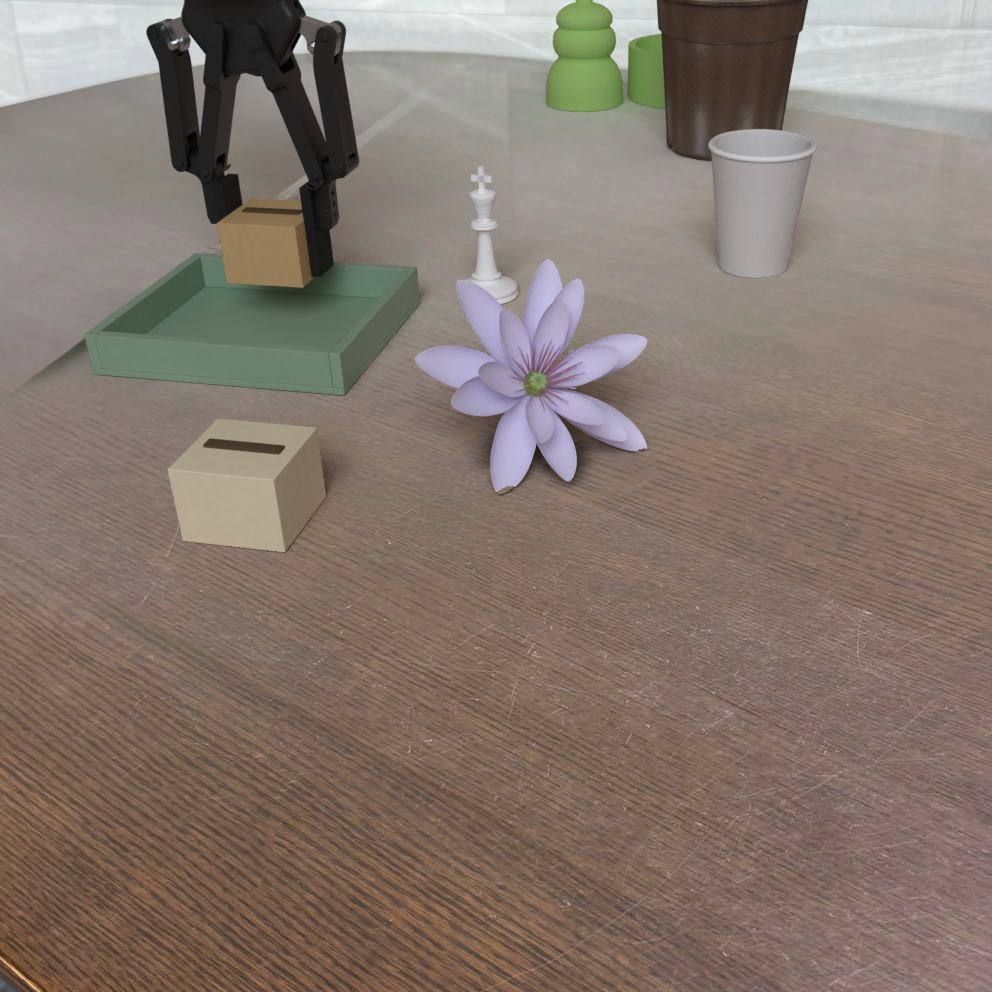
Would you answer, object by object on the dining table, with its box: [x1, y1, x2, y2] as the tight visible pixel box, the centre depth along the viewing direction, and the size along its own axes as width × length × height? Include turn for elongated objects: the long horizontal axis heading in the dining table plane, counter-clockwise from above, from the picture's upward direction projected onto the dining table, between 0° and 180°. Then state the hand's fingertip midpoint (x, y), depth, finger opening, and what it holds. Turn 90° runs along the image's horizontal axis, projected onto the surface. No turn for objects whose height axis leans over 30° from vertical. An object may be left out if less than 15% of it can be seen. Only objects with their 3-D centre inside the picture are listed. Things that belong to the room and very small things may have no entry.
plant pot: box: [656, 0, 809, 162], centre depth 125 cm, size 16×16×16 cm
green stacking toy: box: [545, 0, 665, 113], centre depth 146 cm, size 25×15×13 cm, turn 101°
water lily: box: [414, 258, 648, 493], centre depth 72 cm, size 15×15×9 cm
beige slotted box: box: [167, 418, 327, 553], centre depth 66 cm, size 6×6×5 cm
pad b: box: [216, 197, 314, 288], centre depth 89 cm, size 6×6×5 cm
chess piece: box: [455, 165, 520, 305], centre depth 92 cm, size 5×5×10 cm
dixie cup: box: [708, 129, 818, 279], centre depth 96 cm, size 8×8×10 cm
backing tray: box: [83, 252, 421, 396], centre depth 88 cm, size 19×17×3 cm
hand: (280, 267), depth 90 cm, fingers closed on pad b, 6 cm apart
